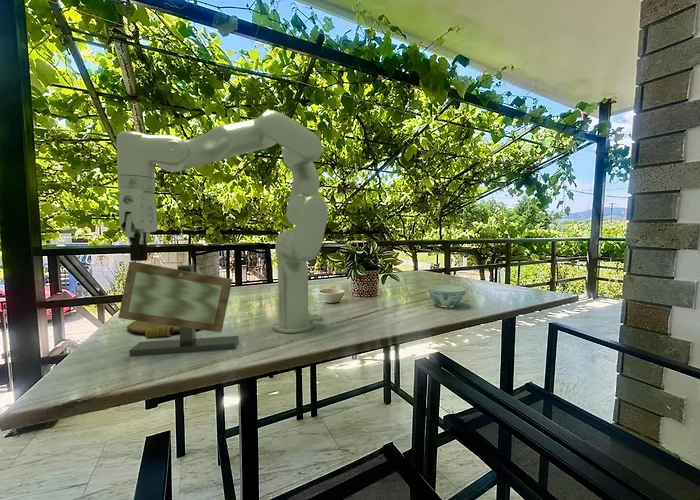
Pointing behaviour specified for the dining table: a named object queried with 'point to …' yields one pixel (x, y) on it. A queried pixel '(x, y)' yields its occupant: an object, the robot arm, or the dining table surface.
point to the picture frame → (174, 297)
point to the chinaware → (446, 294)
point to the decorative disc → (152, 329)
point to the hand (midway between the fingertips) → (139, 260)
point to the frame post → (185, 340)
